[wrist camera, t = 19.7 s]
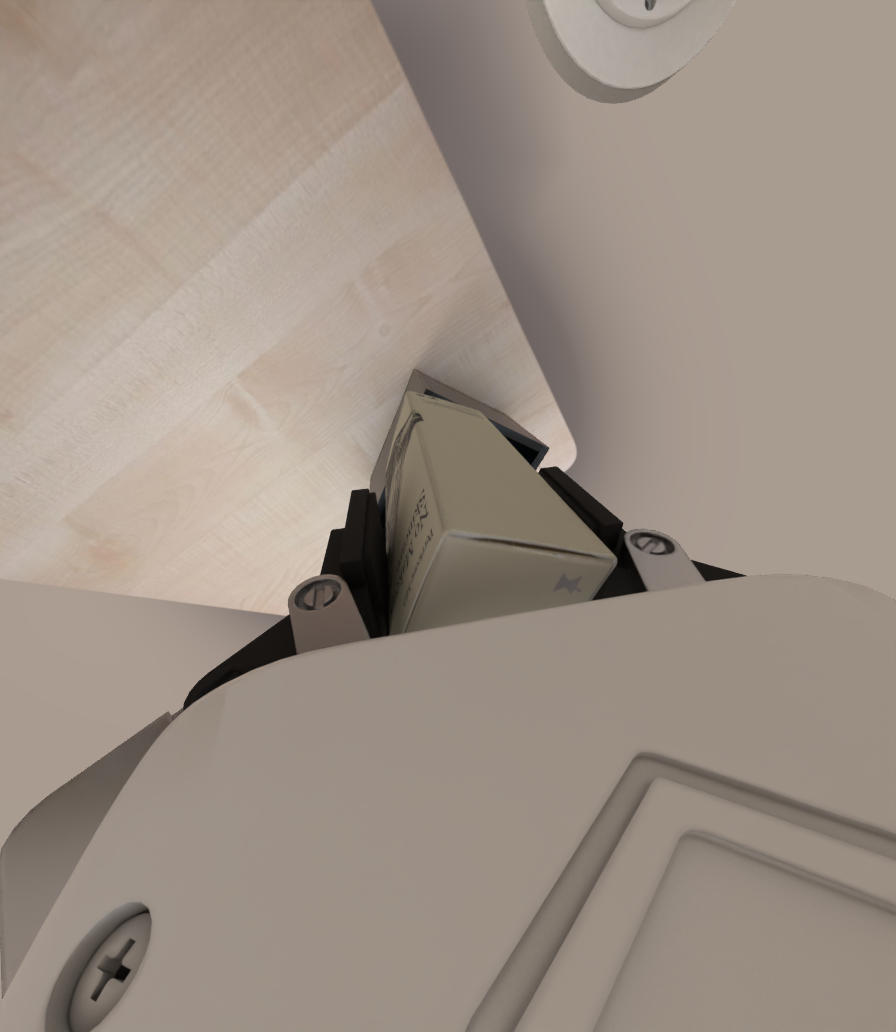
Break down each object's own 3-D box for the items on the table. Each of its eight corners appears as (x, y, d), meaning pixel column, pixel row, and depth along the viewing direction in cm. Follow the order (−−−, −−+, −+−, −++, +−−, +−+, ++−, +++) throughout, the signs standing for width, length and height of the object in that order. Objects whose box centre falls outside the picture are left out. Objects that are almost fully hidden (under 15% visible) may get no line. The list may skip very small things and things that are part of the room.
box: (405, 386, 17) (444, 514, 6) (483, 411, 18) (635, 552, 7) (382, 478, 19) (379, 693, 8) (452, 494, 20) (531, 697, 9)
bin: (413, 368, 34) (426, 388, 24) (506, 415, 38) (549, 448, 28) (370, 478, 39) (366, 530, 30) (456, 508, 44) (477, 563, 34)
